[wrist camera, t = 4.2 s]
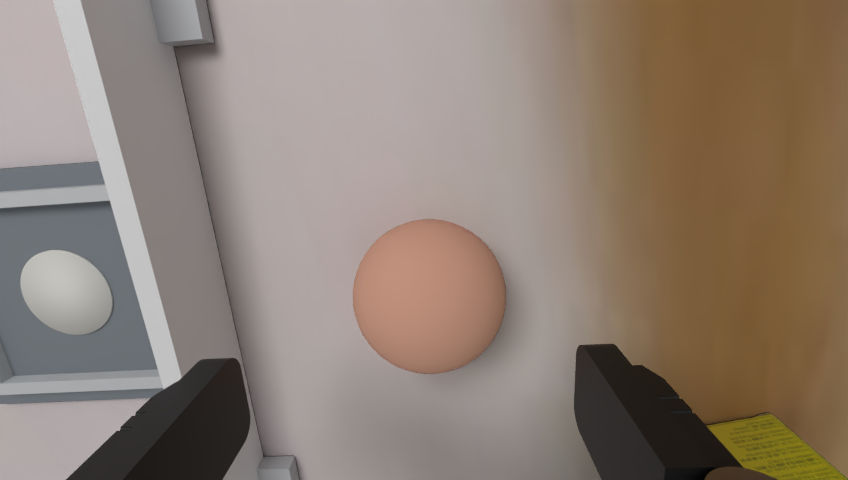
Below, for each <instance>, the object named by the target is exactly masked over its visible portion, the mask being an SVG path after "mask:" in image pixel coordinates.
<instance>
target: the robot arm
mask: <svg viewBox="0 0 848 480" xmlns="http://www.w3.org/2000/svg"><path fill="white" fill-rule="evenodd" d="M574 410H575V417H576V422H577V426H578V429H579V432H580V434H581V436H582V438H583V441H584V443H585V445H586V447H587V449H588V451H589V453H590V456H591V458H592V460H593V462H594V464H595V466H596V468H597V470H598V473H599V475H600V477H601V479H602V480H778V479H776V478H774V477H771V476H769V475H766V474H764V473H761V472H758V471H755V470H751V469H747V468H744V467H743V466H742V465H741V464H740V463H739V462H738V461H737V459H736V458H735V457H734V456H733V455H732V454H731V453H730V452H729V451H728V449H727V448H726V447H725V446H724V445H723V444H722V443H721V442H720V441H719V439H718V438H717V437H716V436H715V435H714V434H713V433H712V432H711V431H710V429H709V428H708V427H707V426H706V425H705V424H704V423H703V422H702V421H701V420H700V418H699V417H698V416H697V415H696V414H693V413H692V410H691V408H690V407H689V406H688V405H687V404H686V403H685V402H684V401H683V400H682V399H680V398H679V395H678V394H677V393H676V392H675V391H674V390H673V388H672V387H671V386H670V385H669V384H668V383H667V382H666V381H665V380H664V379H663V378H662V377H660V376H658V375H657V374H655V373H654V372H652V371H650V370H649V369H647V368H645V367H644V366H642V365H634V366H632V365H631V363H630V362H629V361H628V360H627V358H626V357H625V356H624V355H623V354H622V352H621V351H620V350H619V349H618V347H617V346H616V345H614V344H594V345H579V346H578V348H577V353H576V371H575V394H574ZM249 428H250V410H249V405H248V400H247V395H246V390H245V385H244V380H243V375H242V370H241V366H240V363H239V361H238V360H237V359H235V358H216V359H201V360H200V361H198V362H197V363H196V364H195V365H194V366H193V367H192V368H191V369H190V370H189V371H188V372H187V373H186V374H185V375H184V376H183V377H182V378H181V379H180V380H179V381H177V382H175V383H173V384H172V385H170V386H169V387H167V388H165V389H164V390H162V391H160V392H159V393H157V394H156V395H154V396H153V397H152V398H151V399H150V400H149V401H147V402H146V403H145V404H144V405H143V406H142V407H141V408H140V409H139V410H138V411H137V412H136V415H135V416H132V417H131V418H130V419H129V420H128V421H127V422H126V423H125V424H124V425H123V426H121V430H120V431H116V432H115V433H114V434H113V435H112V436H111V437H110V438H109V439H108V440H107V441H106V442H105V443H104V444H103V445H102V446H101V447H100V448H99V449H98V450H97V451H95V452H94V453H93V454H92V455H91V456H90V457H89V458H88V459H87V460H86V461H85V462H84V463H83V464H82V465H81V466H80V467H79V468H78V469H77V470H76V471H75V472H74V473H73V474H72V475H71V476H70V477H68V478H67V479H66V480H223V478H224V476H225V475H226V473H227V471H228V470H229V468H230V466H231V465H232V463H233V461H234V460H235V458H236V456H237V455H238V453H239V451H240V450H241V448H242V446H243V445H244V443H245V441H246V439H247V436H248V433H249Z"/></svg>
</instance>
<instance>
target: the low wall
mask: <svg viewBox="0 0 848 480" xmlns="http://www.w3.org/2000/svg"><path fill="white" fill-rule="evenodd" d="M53 3H54V6H55V10H56V13H57V17H58V20H59V24H60V27H61V31H62V34H63V38H64V41H65V45H66V48H67V52H68V55H69V59H70V63H71V66H72V70H73V73H74V77H75V80H76V84H77V87H78V91H79V94H80V98H81V101H82V105H83V108H84V112H85V115H86V119H87V122H88V126H89V129H90V133H91V136H92V140H93V143H94V147H95V150H96V154H97V157H98V161H99V164H100V168H101V171H102V175H103V178H104V182H105V185H106V189H107V192H108V196H109V200H110V203H111V207H112V210H113V214H114V217H115V221H116V224H117V228H118V231H119V235H120V238H121V242H122V245H123V249H124V252H125V256H126V259H127V263H128V266H129V270H130V273H131V277H132V280H133V284H134V287H135V291H136V294H137V298H138V301H139V305H140V308H141V312H142V315H143V319H144V322H145V326H146V329H147V333H148V336H149V340H150V344H151V347H152V351H153V354H154V358H155V361H156V365H157V368H158V372H159V375H160V379H161V382H162V386H163V389H165V388H167V387H169V386H170V385H172V384H173V383H175V382H177V381H179V380H180V379H181V378H182V377H183V376H184V375H185V374H186V373H187V372H188V371H189V370H190V369H191V368H192V367H193V366H194V365H195V364H196V363H197V362H198V361H200V360H201V359H216V358H235V359H237V360H238V361H239V363H240V366H241V370H242V375H243V380H244V385H245V390H246V395H247V400H248V405H249V410H250V428H249V433H248V436H247V439H246V441H245V443H244V445H243V446H242V448H241V450H240V451H239V453H238V455H237V456H236V458H235V460H234V461H233V463H232V465H231V466H230V468H229V470H228V471H227V473H226V475H225V476H224V478H223V480H299V476H298V471H297V466H296V461H295V456H275V457H263V453H262V448H261V444H260V439H259V435H258V430H257V425H256V421H255V416H254V412H253V407H252V403H251V398H250V394H249V389H248V384H247V380H246V375H245V371H244V366H243V362H242V357H241V353H240V348H239V343H238V339H237V334H236V330H235V325H234V321H233V316H232V312H231V307H230V302H229V298H228V293H227V289H226V284H225V280H224V275H223V271H222V266H221V261H220V257H219V252H218V248H217V243H216V239H215V234H214V230H213V225H212V221H211V216H210V211H209V207H208V202H207V198H206V193H205V189H204V184H203V180H202V175H201V170H200V166H199V161H198V157H197V152H196V148H195V143H194V139H193V134H192V129H191V125H190V120H189V116H188V111H187V107H186V102H185V98H184V93H183V88H182V84H181V79H180V75H179V70H178V66H177V61H176V57H175V52H174V46H185V45H196V44H208V43H214V39H213V33H212V28H211V23H210V18H209V13H208V8H207V3H206V0H53Z"/></svg>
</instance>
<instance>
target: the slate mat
mask: <svg viewBox="0 0 848 480" xmlns="http://www.w3.org/2000/svg"><path fill="white" fill-rule="evenodd" d="M162 390H164V389H163V386H162V382H161V379H160V375H159V372H158V368H157V365H156V361H155V358H154V354H153V351H152V347H151V344H150V340H149V336H148V333H147V329H146V326H145V322H144V319H143V315H142V312H141V308H140V305H139V301H138V298H137V294H136V291H135V287H134V284H133V280H132V277H131V273H130V270H129V266H128V263H127V259H126V256H125V252H124V249H123V245H122V242H121V238H120V235H119V231H118V228H117V224H116V221H115V217H114V214H113V210H112V207H111V203H110V200H109V196H108V192H107V189H106V185H105V182H104V178H103V175H102V171H101V168H100V164H99V161H98V162H84V163H71V164H57V165H44V166H31V167H17V168H4V169H0V404H14V403H37V402H61V401H85V400H108V399H132V398H152V397H153V396H154V395H156V394H157V393H159V392H160V391H162Z"/></svg>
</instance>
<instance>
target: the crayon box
mask: <svg viewBox="0 0 848 480" xmlns="http://www.w3.org/2000/svg"><path fill="white" fill-rule="evenodd" d="M707 427H708V428H709V429H710V431H711V432H712V433H713V434H714V435H715V436H716V437H717V438H718V439H719V441H720V442H721V443H722V444H723V445H724V446H725V447H726V448H727V449H728V451H729V452H730V453H731V454H732V455H733V456H734V457H735V458H736V459H737V461H738V462H739V463H740V464H741V465H742V466H743V467H744V468H747V469H751V470H755V471H758V472H761V473H764V474H766V475H769V476H771V477H774V478H776V479H778V480H848V479H847V478H846V477H845V476H844V475H842V474H841V473H840V472H839V471H838V470H837V469H836V468H834V467H833V466H832V465H831V464H830V463H828V462H827V461H826V460H825V459H824V458H823V457H822V456H820V455H819V454H818V453H817V452H816V451H815V450H813V449H812V448H811V447H810V446H809V445H808V444H806V443H805V442H804V441H803V440H802V439H801V438H800V437H799V436H797V435H796V434H795V433H794V432H793V431H792V430H790V429H789V428H788V427H787V426H786V425H785V424H783V423H782V422H781V421H780V420H779V419H778V418H777V417H775V416H774V415H772V414H771V413H763V414H759V415H757V416H756V417H753V418H747V419H742V420H735V421H730V422H724V423H719V424H713V425H708V426H707Z"/></svg>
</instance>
